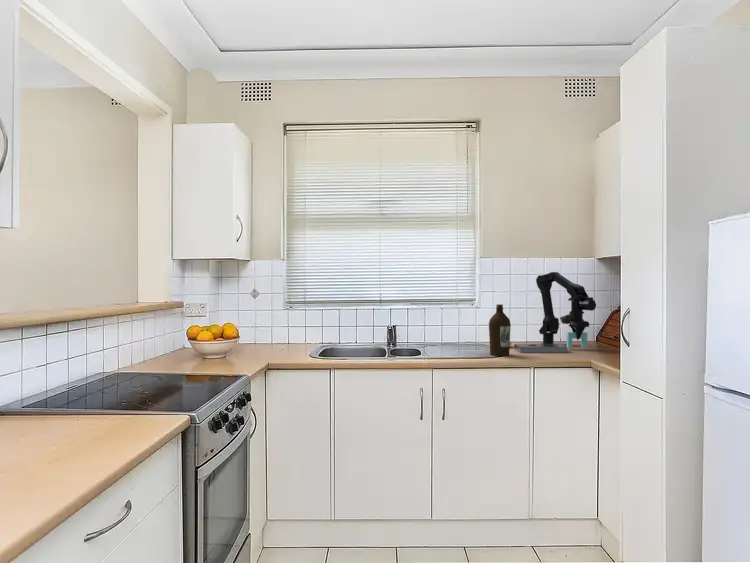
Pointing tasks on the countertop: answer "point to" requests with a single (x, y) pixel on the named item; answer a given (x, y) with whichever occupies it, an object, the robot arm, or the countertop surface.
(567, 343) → the clip
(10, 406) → the countertop surface
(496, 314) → the olive oil
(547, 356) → the countertop surface
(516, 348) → the rail plate
